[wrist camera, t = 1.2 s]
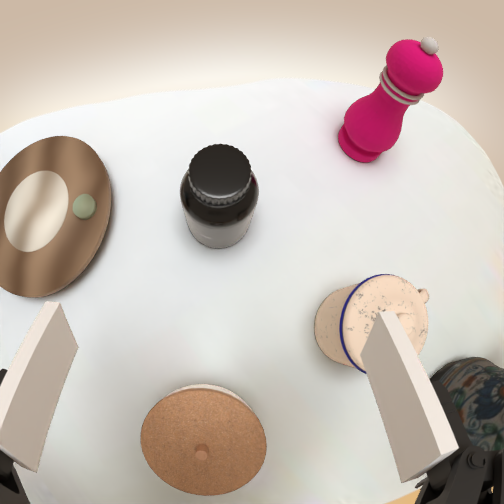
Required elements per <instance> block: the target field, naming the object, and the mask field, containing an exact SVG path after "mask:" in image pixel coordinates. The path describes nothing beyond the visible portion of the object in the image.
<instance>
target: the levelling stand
mask: <svg viewBox="0 0 504 504" xmlns="http://www.w3.org/2000/svg"><path fill="white" fill-rule="evenodd" d="M110 210H111V186H110V180H109V177H108V173H107V170H106V168H105V166H104V164H103V162H102V161H101V159H100V158H99V157H98V155H97V154H96V152H95V151H94V150H93V149H92V148H91V147H90V146H89V145H87V144H86V143H85V142H83V141H81V140H79V139H76V138H72V137H67V136H55V137H49V138H45V139H42V140H39V141H37V142H35V143H33V144H31V145H29V146H28V147H26V148H24V149H23V150H22V151H20V152H19V153H18V154H17V155H15V156H14V157H13V158H12V159H11V160H10V161H9V162H8V163H7V165H6V166H5V167H4V168H3V169H2V171H1V172H0V286H1V287H2V288H3V289H5V290H6V291H8V292H10V293H12V294H15V295H19V296H24V297H35V298H36V297H43V296H47V295H50V294H53V293H55V292H57V291H59V290H61V289H63V288H64V287H66V286H67V285H69V284H70V283H71V282H72V281H74V280H75V279H76V278H77V277H78V276H79V275H80V274H81V273H82V272H83V270H84V269H85V268H86V267H87V266H88V264H89V263H90V261H91V260H92V258H93V257H94V255H95V253H96V252H97V250H98V248H99V246H100V244H101V242H102V239H103V237H104V234H105V231H106V228H107V225H108V221H109V216H110Z"/></svg>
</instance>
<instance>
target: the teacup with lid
mask: <svg viewBox="0 0 504 504" xmlns="http://www.w3.org/2000/svg"><path fill="white" fill-rule="evenodd" d="M428 299H429V294H428V291H427V290H426V289H418V290H417V289H416V288H415V287H414V286H413V285H412V284H411V283H409V282H408V281H407V280H405V279H403V278H401V277H398V276H395V275H390V274H380V275H375V276H372V277H370V278H367V279H366V280H364V281H362V282H361V283H359V284H355V285H352V286H349V287H346V288H342V289H339V290H337V291H335V292H333V293H332V294H330V295H329V296H328V297H327V298H326V299H325V300H324V301H323V303H322V304H321V306H320V308H319V309H318V312H317V315H316V319H315V336H316V340H317V343H318V345H319V347H320V348H321V350H322V351H323V353H324V354H325V355H326V356H328V357H329V358H330V359H332V360H333V361H336V362H338V363H341V364H344V365H348V366H351V367H354V368H357V369H358V370H360V371H361V372H363V373H365V374H367V373H366V370H365V368H364V365H363V362H362V359H361V357H360V354H361V351H362V349H363V347H364V345H365V343H366V341H367V338H368V336H369V334H370V332H371V329H372V327H373V325H374V322H375V320H376V317H377V315H378V313H379V312H384V311H395V313H396V315H397V317H398V319H399V321H400V322H401V324H402V326H403V328H404V330H405V332H406V334H407V336H408V338H409V339H410V341H411V343H412V345H413V347H414V349H415V351H416V353H417V355H419V353H420V352H421V350H422V348H423V346H424V343H425V340H426V336H427V331H428V315H427V309H426V306H425V303H426V302H427V301H428Z"/></svg>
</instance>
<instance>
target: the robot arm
mask: <svg viewBox="0 0 504 504" xmlns="http://www.w3.org/2000/svg"><path fill="white" fill-rule="evenodd" d="M77 350H78V345H77V343H76V340H75V338H74V336H73V334H72V331H71V329H70V326H69V324H68V322H67V319H66V317H65V314H64V312H63V309H62V307H61V304H60V303H59V302H50V301H46V302H45V303H44V305H43V307H42V308H41V310H40V312H39V313H38V315H37V317H36V318H35V320H34V322H33V324H32V325H31V327H30V329H29V331H28V332H27V334H26V336H25V338H24V340H23V342H22V343H21V345H20V347H19V349H18V351H17V353H16V355H15V357H14V359H13V361H12V363H11V365H10V367H9V369H8V370H6V369H2V370H1V371H0V504H30V502H29V500H28V498H27V496H26V493H25V491H24V489H23V486H22V484H21V482H20V479H19V477H18V474H17V471H16V469H15V468H14V466H13V462H14V461H15V462H16V463H17V464H19V465H20V466H21V467H24V468H26V469H28V470H31V471H33V472H36V473H37V470H38V466H39V462H40V458H41V455H42V451H43V447H44V444H45V440H46V437H47V434H48V430H49V427H50V424H51V421H52V418H53V415H54V411H55V408H56V406H57V403H58V400H59V397H60V394H61V391H62V388H63V386H64V383H65V380H66V378H67V375H68V372H69V370H70V367H71V365H72V362H73V360H74V357H75V355H76V352H77ZM360 357H361V359H362V362H363V365H364V368H365V370H366V373H367V376H368V379H369V382H370V384H371V387H372V390H373V393H374V396H375V399H376V402H377V405H378V408H379V411H380V414H381V417H382V420H383V423H384V426H385V429H386V433H387V436H388V439H389V442H390V445H391V449H392V452H393V455H394V459H395V462H396V465H397V469H398V472H399V476H400V480H401V483H404V482H407V481H410V480H413V479H416V478H418V477H420V476H421V475H423V474H424V473H427V476H428V477H426V478H425V479H423V480H422V481H420V482H419V483H417V485H416V486H415V488H418V487H420V486H422V485H423V486H422V488H421V489H420V490H421V491H420V493H419V495H418V498H417V500H416V502H415V504H504V448H503V449H502V450H494V451H484V450H483V449H482V448H480V447H479V446H474V445H473V444H472V443H471V441H470V439H469V437H468V434H467V432H466V430H465V427H464V425H463V423H462V420H461V418H460V416H459V414H458V411H456V407H455V405H454V403H453V402H452V398H451V396H450V394H449V392H448V390H447V389H446V388H445V386H444V385H443V384H442V383H441V382H440V381H439V380H438V381H433V382H430V380H429V378H428V375H427V373H426V371H425V369H424V367H423V365H422V363H421V361H420V359H419V357H418V355H417V353H416V351H415V349H414V347H413V345H412V343H411V341H410V339H409V338H408V336H407V334H406V332H405V330H404V328H403V326H402V324H401V322H400V321H399V319H398V317H397V315H396V313H395V311H384V312H379V313H378V315H377V317H376V320H375V322H374V325H373V327H372V329H371V332H370V334H369V336H368V338H367V341H366V343H365V345H364V347H363V349H362V351H361V354H360ZM491 487H493V493H492V491H491Z"/></svg>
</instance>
